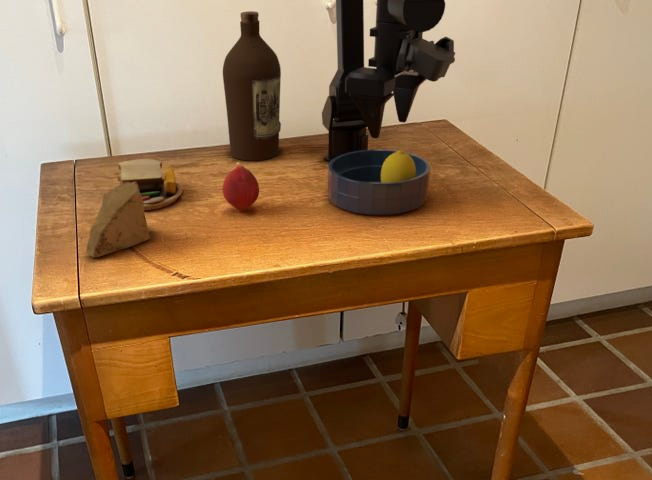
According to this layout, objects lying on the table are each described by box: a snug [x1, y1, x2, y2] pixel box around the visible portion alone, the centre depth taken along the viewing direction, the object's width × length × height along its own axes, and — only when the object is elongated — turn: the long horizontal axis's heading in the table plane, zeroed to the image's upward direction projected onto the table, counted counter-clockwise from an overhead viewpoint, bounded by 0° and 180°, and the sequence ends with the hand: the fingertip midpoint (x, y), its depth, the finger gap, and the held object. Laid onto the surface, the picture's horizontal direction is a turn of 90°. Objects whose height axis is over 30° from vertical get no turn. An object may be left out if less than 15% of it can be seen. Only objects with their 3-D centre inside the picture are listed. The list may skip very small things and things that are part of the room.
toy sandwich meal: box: [112, 158, 183, 211], centre depth 124 cm, size 12×14×5 cm
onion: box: [222, 161, 260, 212], centre depth 117 cm, size 6×6×8 cm
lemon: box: [381, 149, 416, 183], centre depth 117 cm, size 6×6×8 cm
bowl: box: [327, 148, 431, 216], centre depth 120 cm, size 16×16×6 cm
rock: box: [86, 181, 150, 259], centre depth 108 cm, size 11×9×10 cm
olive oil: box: [222, 10, 282, 162], centre depth 136 cm, size 11×11×25 cm
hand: (389, 129), depth 113 cm, fingers open, 9 cm apart
